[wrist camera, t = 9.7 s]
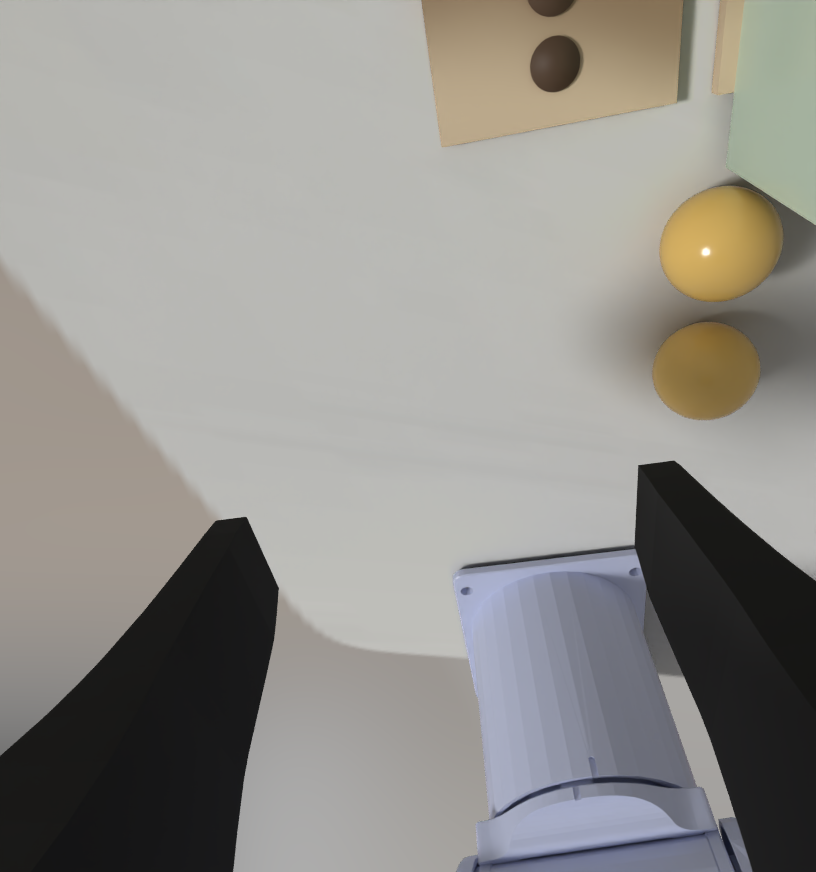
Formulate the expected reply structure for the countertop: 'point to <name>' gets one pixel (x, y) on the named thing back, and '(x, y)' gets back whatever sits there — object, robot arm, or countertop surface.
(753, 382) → the marble
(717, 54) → the pad two
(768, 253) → the marble
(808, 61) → the pale green block
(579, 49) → the pad three
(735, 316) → the countertop surface
